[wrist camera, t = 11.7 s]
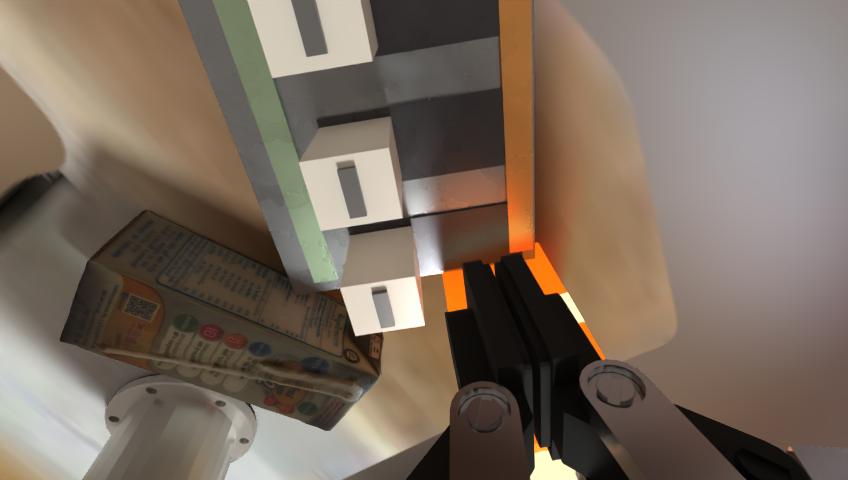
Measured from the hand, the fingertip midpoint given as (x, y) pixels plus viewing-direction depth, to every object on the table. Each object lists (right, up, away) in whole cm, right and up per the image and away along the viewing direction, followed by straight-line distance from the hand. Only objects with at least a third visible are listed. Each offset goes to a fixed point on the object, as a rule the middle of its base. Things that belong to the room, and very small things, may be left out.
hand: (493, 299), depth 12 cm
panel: (-4, +8, +13) cm, 16 cm away
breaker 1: (-7, +13, +8) cm, 16 cm away
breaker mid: (-6, +7, +11) cm, 14 cm away
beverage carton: (-15, -3, +20) cm, 25 cm away
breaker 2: (-5, +1, +15) cm, 16 cm away
